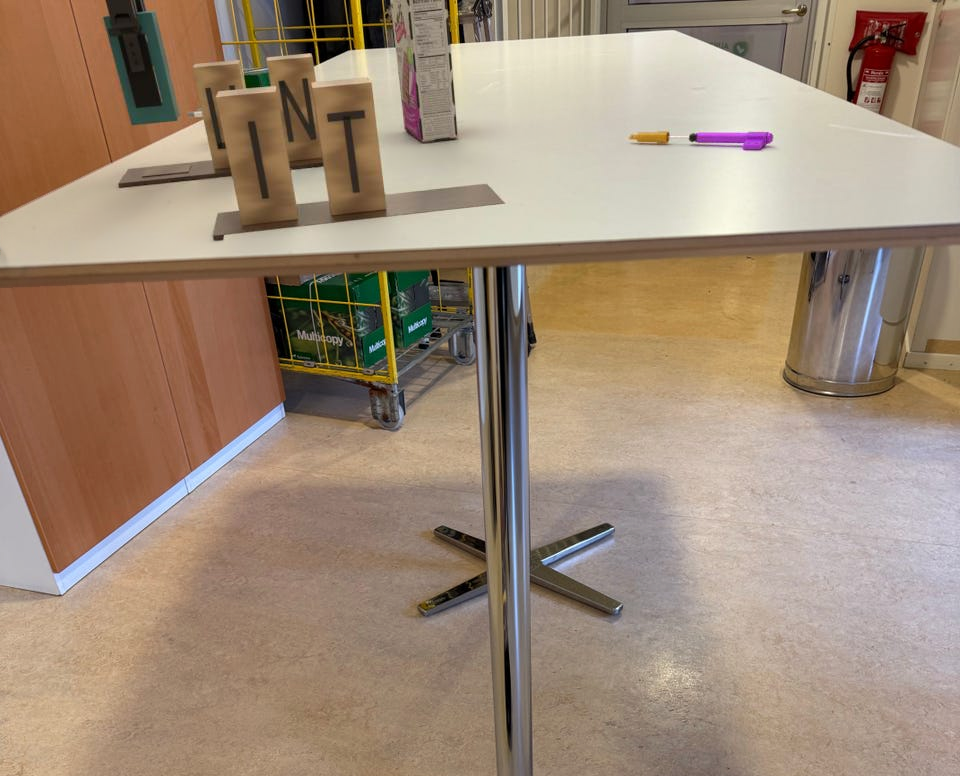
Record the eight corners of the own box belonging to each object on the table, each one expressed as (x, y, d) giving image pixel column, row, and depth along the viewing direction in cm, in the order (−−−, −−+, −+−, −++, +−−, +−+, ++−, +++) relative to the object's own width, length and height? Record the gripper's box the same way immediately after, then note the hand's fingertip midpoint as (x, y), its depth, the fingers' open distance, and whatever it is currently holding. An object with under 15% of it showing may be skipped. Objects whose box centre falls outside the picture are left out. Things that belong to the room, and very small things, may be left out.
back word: (118, 187, 102) (88, 79, 96) (128, 172, 109) (101, 70, 103) (350, 162, 105) (336, 56, 99) (345, 150, 112) (332, 49, 106)
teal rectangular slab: (131, 125, 101) (102, 16, 95) (135, 120, 104) (108, 14, 98) (177, 121, 102) (151, 12, 96) (180, 115, 105) (155, 10, 99)
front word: (213, 240, 80) (182, 103, 74) (218, 217, 87) (190, 90, 81) (505, 207, 83) (499, 72, 76) (487, 187, 90) (480, 63, 83)
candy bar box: (401, 131, 121) (385, -22, 111) (438, 127, 122) (426, -26, 112) (419, 144, 112) (404, -21, 102) (459, 139, 113) (447, -25, 103)
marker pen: (774, 141, 97) (632, 140, 104) (774, 129, 96) (631, 129, 103) (766, 153, 96) (623, 150, 103) (766, 141, 95) (622, 139, 102)
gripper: (109, -190, 81) (179, 110, 96) (132, -170, 95) (191, 91, 109) (21, -184, 81) (105, 117, 95) (58, -164, 94) (126, 97, 108)
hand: (151, 103), depth 102 cm, fingers closed on teal rectangular slab, 4 cm apart
